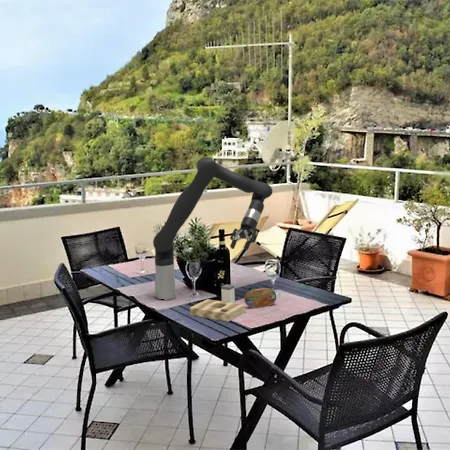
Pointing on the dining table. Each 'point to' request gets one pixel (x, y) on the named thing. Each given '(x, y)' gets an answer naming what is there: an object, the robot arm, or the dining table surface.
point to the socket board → (217, 310)
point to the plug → (228, 293)
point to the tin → (260, 297)
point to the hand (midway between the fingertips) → (238, 248)
